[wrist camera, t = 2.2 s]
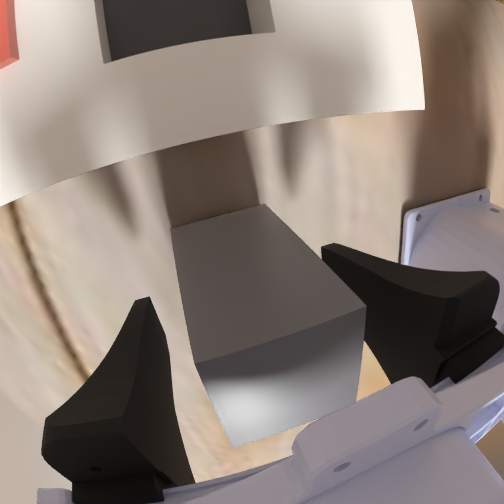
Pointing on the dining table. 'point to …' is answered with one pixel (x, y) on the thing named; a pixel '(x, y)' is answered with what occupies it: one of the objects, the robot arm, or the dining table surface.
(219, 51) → the socket plate
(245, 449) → the dining table surface
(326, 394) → the plug
